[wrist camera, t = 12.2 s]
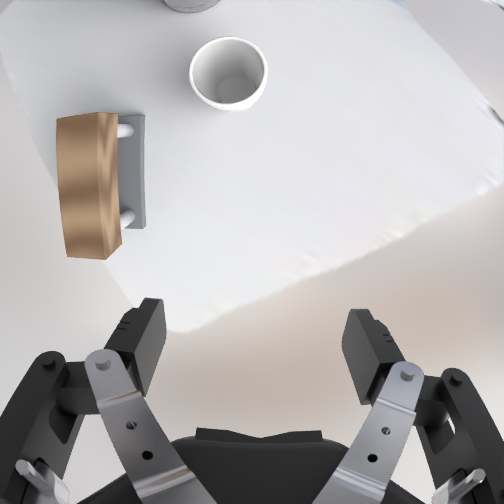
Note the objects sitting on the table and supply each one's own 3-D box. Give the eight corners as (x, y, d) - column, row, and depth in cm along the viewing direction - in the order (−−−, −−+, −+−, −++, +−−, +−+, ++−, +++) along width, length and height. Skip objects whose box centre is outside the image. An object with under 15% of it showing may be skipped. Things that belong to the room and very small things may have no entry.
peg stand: (101, 119, 36) (74, 119, 29) (144, 115, 36) (123, 113, 29) (104, 224, 42) (81, 241, 35) (145, 225, 42) (126, 244, 35)
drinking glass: (200, 94, 35) (171, 73, 21) (237, 59, 33) (228, 21, 20) (236, 127, 37) (226, 124, 23) (273, 93, 35) (285, 71, 21)
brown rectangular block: (79, 118, 29) (56, 118, 24) (118, 113, 29) (97, 112, 25) (86, 241, 35) (67, 256, 31) (122, 243, 35) (105, 259, 31)
